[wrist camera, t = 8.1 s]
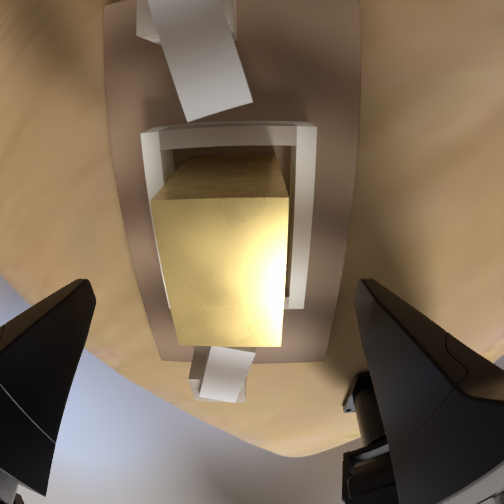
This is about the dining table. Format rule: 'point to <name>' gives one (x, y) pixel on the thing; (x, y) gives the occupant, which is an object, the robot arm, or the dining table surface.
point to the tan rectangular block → (224, 249)
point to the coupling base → (239, 146)
